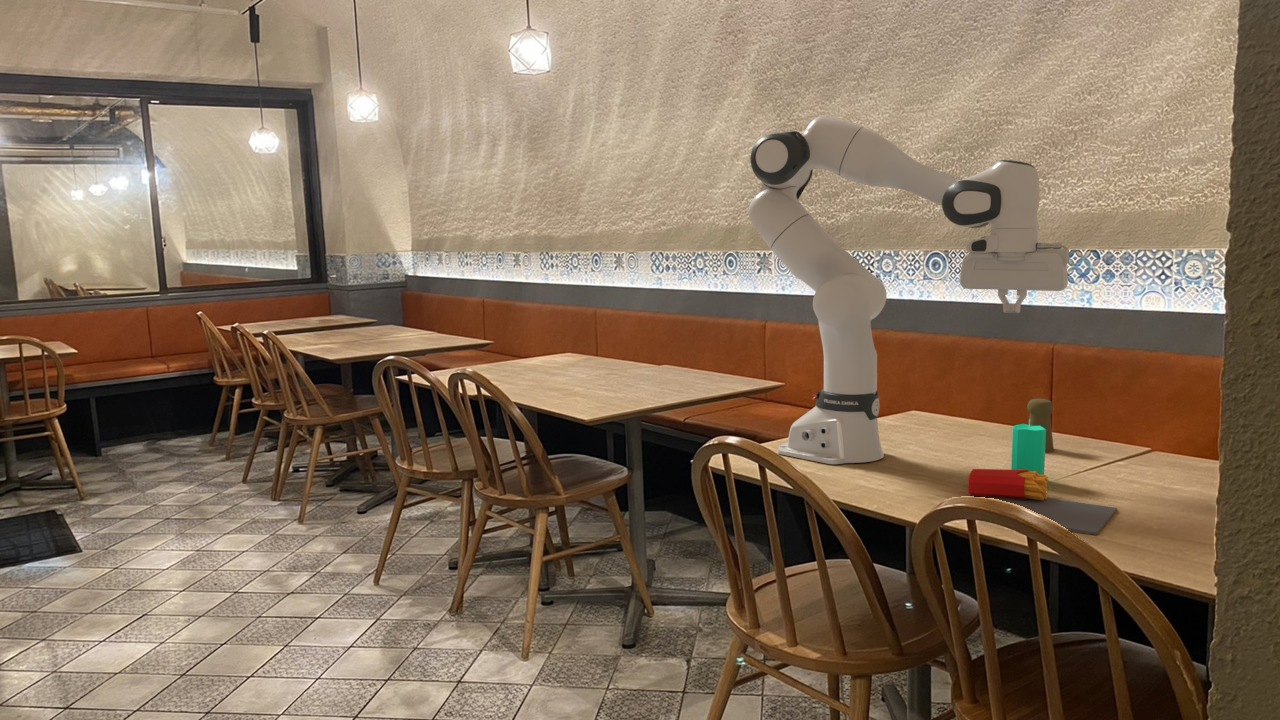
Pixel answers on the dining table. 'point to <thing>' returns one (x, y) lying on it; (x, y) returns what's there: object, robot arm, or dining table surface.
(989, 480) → the french fries
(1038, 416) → the cork
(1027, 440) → the candle
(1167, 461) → the dining table surface
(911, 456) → the dining table surface
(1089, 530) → the mat
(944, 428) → the dining table surface
